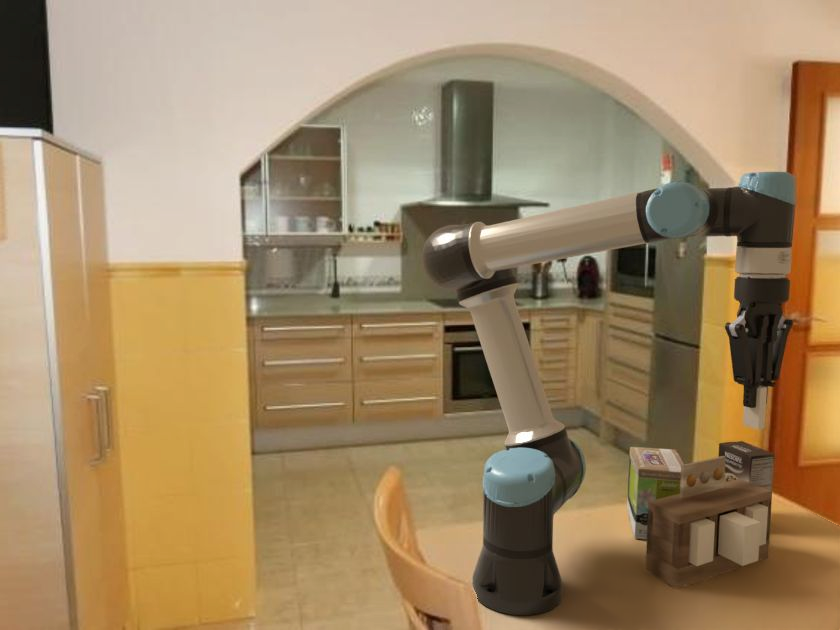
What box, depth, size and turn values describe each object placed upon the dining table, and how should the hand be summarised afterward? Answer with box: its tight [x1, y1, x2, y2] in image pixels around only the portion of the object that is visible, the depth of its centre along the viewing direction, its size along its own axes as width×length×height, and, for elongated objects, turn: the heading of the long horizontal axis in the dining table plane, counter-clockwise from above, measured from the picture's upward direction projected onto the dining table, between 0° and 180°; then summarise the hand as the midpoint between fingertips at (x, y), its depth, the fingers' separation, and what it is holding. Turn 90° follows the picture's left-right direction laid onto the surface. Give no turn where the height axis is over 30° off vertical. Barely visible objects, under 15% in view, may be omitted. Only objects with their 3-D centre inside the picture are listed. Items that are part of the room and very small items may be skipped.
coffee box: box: [717, 440, 776, 492], centre depth 140 cm, size 9×6×16 cm
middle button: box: [718, 512, 760, 567], centre depth 117 cm, size 5×4×7 cm
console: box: [645, 456, 773, 589], centre depth 122 cm, size 7×24×19 cm, turn 117°
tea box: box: [626, 446, 686, 541], centre depth 139 cm, size 15×10×15 cm, turn 169°
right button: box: [729, 503, 768, 546], centre depth 123 cm, size 5×4×7 cm
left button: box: [688, 518, 715, 566], centre depth 117 cm, size 5×4×7 cm
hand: (753, 426), depth 105 cm, fingers closed
